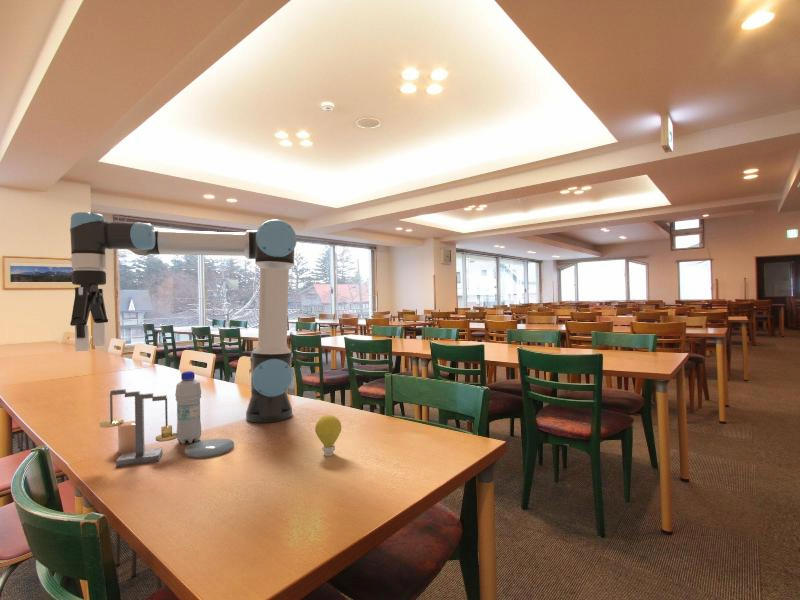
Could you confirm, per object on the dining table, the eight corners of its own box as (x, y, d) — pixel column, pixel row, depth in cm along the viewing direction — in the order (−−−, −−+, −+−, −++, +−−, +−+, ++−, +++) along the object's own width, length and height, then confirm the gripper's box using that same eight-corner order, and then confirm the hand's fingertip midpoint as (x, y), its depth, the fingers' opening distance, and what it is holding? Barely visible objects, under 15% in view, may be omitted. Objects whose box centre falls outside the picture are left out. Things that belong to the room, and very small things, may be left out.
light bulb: (346, 451, 110) (345, 412, 110) (334, 460, 104) (333, 420, 104) (323, 448, 112) (323, 411, 112) (310, 457, 106) (309, 417, 106)
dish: (234, 439, 120) (234, 436, 120) (233, 454, 109) (233, 450, 109) (187, 445, 116) (187, 442, 116) (181, 461, 105) (181, 457, 105)
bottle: (191, 445, 116) (190, 373, 116) (170, 444, 117) (169, 373, 117) (207, 437, 123) (206, 369, 123) (187, 436, 124) (186, 369, 124)
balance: (179, 451, 112) (178, 383, 112) (176, 459, 106) (175, 387, 106) (104, 460, 106) (102, 389, 106) (96, 469, 100) (95, 394, 100)
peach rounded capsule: (146, 444, 118) (146, 419, 118) (141, 451, 112) (141, 425, 112) (121, 447, 116) (121, 422, 116) (115, 454, 110) (115, 428, 110)
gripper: (88, 273, 125) (90, 344, 125) (52, 266, 102) (55, 354, 102) (117, 273, 128) (119, 343, 128) (89, 266, 104) (92, 352, 104)
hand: (91, 348), depth 115 cm, fingers open, 13 cm apart
